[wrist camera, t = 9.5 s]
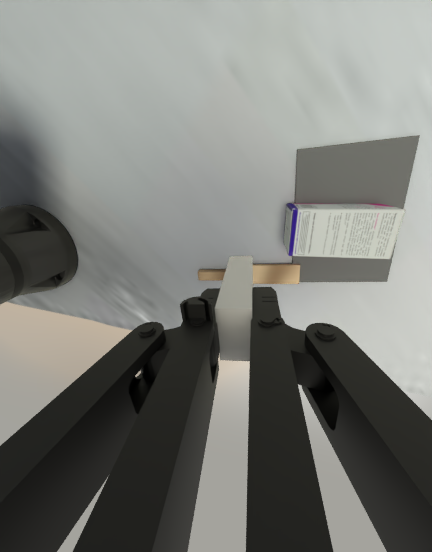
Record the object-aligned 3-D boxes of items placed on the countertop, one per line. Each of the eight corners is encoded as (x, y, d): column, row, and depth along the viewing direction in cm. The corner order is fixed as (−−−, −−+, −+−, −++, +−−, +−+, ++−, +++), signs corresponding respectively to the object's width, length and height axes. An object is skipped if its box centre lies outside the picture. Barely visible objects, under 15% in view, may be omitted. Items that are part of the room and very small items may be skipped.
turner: (201, 281, 38) (199, 284, 37) (199, 264, 37) (197, 267, 36) (298, 282, 34) (299, 285, 33) (299, 263, 33) (300, 266, 32)
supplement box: (287, 258, 28) (392, 260, 25) (291, 207, 25) (408, 205, 23) (283, 245, 33) (370, 246, 31) (286, 202, 30) (381, 200, 28)
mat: (291, 281, 35) (291, 282, 35) (297, 149, 28) (297, 149, 28) (385, 280, 32) (386, 281, 32) (417, 135, 26) (419, 135, 25)
